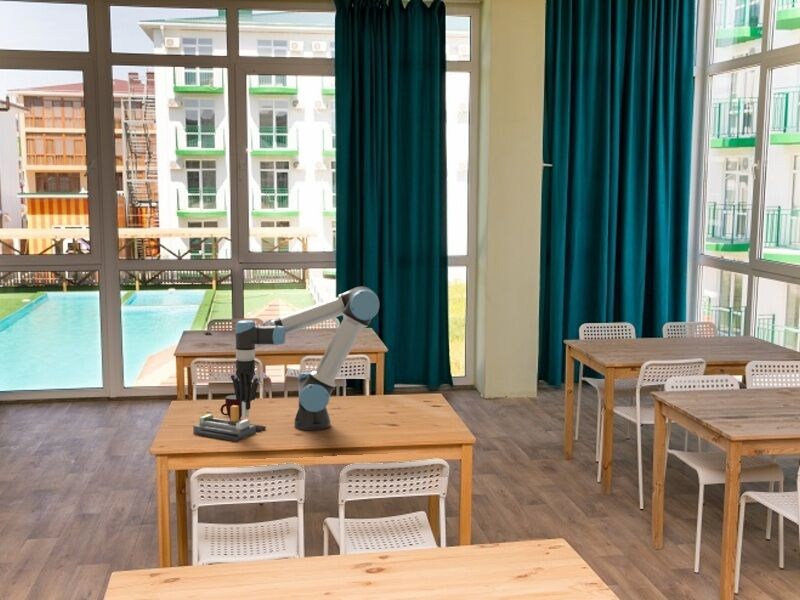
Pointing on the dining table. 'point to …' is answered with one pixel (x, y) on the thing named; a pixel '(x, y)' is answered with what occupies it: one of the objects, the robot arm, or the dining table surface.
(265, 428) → the cord
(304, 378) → the robot arm
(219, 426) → the gray slotted base
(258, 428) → the grey rod
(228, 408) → the mug
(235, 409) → the lever
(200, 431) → the cord
